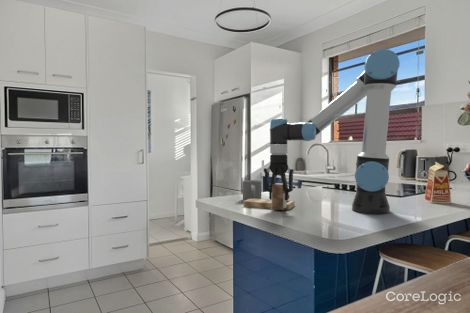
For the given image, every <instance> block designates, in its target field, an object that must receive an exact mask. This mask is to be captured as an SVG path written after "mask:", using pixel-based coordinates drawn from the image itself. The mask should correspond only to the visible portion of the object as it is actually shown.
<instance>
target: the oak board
mask: <svg viewBox="0 0 470 313" xmlns="http://www.w3.org/2000/svg"><path fill="white" fill-rule="evenodd" d="M242 201H243V207H247V208H256V209H257V208H258V209H271V210H273V209H272V207H271V199H269V198H261V199H257V198H250V199H248V200H245V201H244V200H242ZM295 206H296V204H295V200H289V199H288V200H286V208H285V209H283V210H285V211H286V210H287V211H290V210H292V208H294V207H295ZM283 210H282V211H283Z"/></svg>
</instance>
